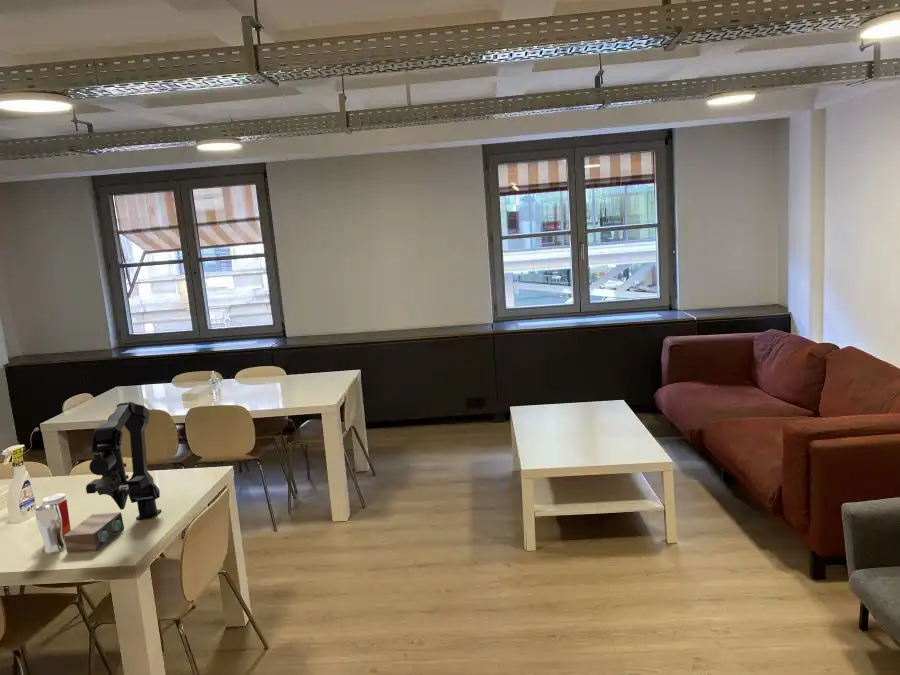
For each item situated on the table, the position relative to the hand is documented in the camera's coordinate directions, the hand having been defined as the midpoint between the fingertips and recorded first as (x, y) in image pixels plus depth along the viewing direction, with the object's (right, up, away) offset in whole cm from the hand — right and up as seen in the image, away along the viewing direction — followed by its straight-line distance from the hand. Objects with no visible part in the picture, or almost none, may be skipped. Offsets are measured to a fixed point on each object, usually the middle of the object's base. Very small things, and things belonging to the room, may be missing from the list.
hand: (122, 509), depth 222 cm
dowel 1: (-10, -11, 0) cm, 15 cm away
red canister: (-26, -12, +12) cm, 31 cm away
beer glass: (-22, -14, 0) cm, 26 cm away
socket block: (-11, -12, +4) cm, 16 cm away
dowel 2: (-9, -10, +8) cm, 16 cm away
